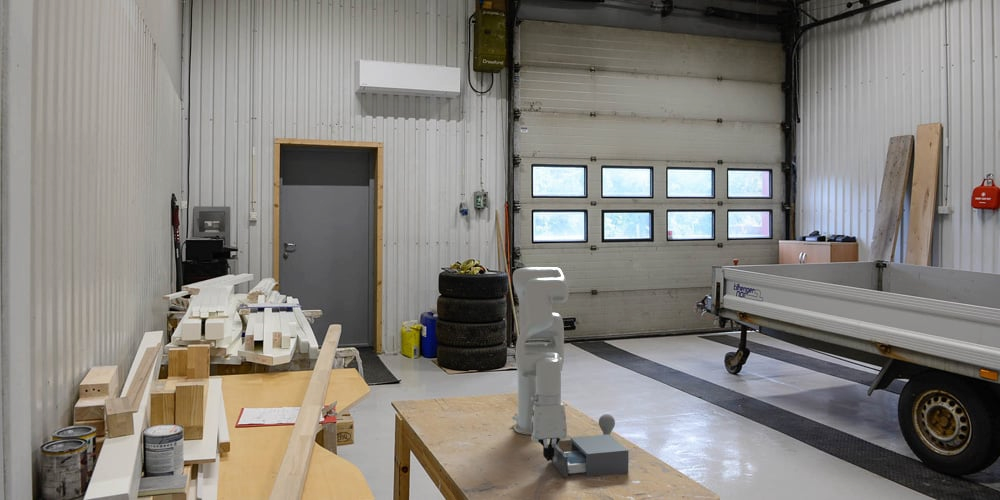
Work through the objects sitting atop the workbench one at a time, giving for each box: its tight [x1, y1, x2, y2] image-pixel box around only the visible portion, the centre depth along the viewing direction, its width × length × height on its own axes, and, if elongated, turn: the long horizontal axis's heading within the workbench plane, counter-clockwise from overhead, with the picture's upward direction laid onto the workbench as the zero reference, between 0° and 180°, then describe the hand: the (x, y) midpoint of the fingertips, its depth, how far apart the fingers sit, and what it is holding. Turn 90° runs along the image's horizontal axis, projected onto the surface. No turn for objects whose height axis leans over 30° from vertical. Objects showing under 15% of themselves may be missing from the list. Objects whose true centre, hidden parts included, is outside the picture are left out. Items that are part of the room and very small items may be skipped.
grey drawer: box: [550, 445, 586, 478], centre depth 196 cm, size 15×14×6 cm
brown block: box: [556, 434, 571, 452], centre depth 212 cm, size 5×5×4 cm
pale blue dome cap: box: [568, 452, 586, 464], centre depth 197 cm, size 7×7×2 cm
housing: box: [570, 433, 629, 478], centre depth 198 cm, size 15×13×7 cm
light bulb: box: [598, 413, 616, 435], centre depth 218 cm, size 6×6×10 cm
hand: (548, 459), depth 194 cm, fingers closed
